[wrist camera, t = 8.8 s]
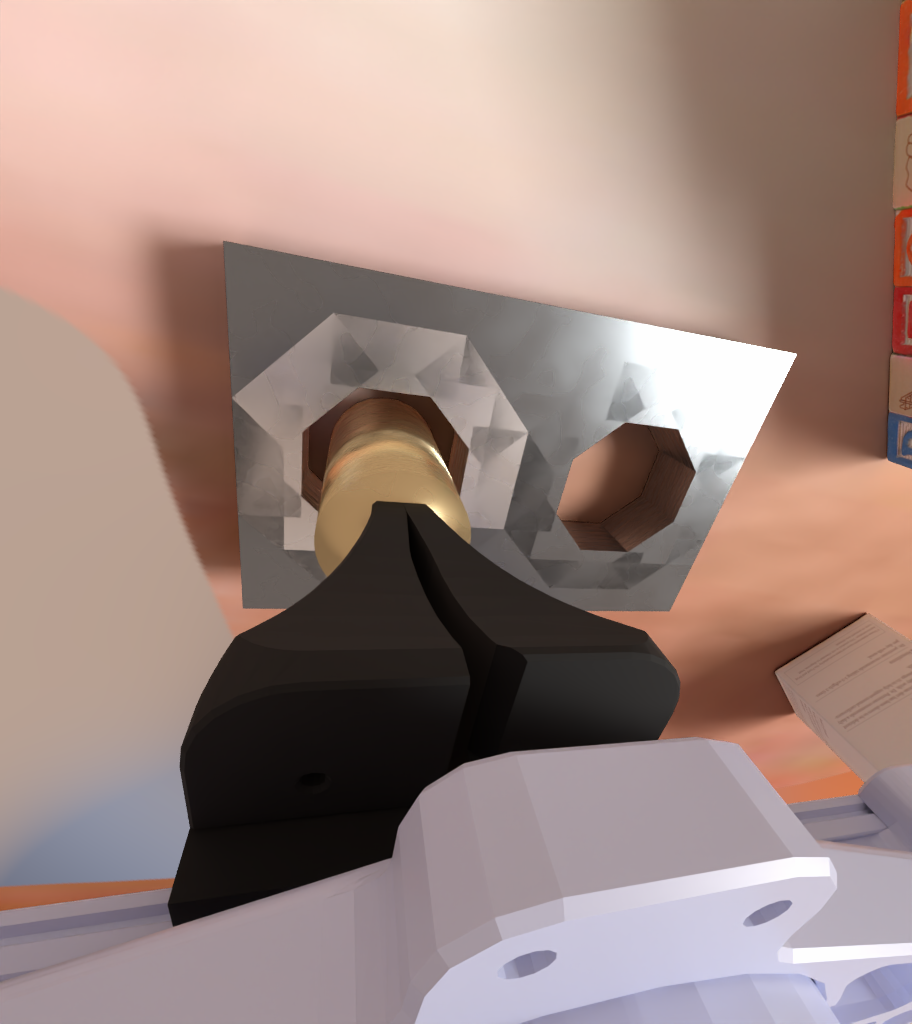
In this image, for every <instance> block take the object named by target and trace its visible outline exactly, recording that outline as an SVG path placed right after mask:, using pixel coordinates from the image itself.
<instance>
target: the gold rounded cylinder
mask: <svg viewBox="0 0 912 1024" xmlns="http://www.w3.org/2000/svg"><path fill="white" fill-rule="evenodd" d="M376 501H388V502H401V503H418V504H426V505H427V506H428V507H430V508H431V509H432V510H433V511H434V512H435V513H436V514H437V515H438V516H439V517H440V518H441V519H442V520H443V521H444V522H445V523H446V524H447V525H448V526H449V527H450V528H452V529H453V530H454V531H455V532H456V533H457V534H458V535H459V536H460V537H461V538H463V539H464V540H465V541H466V542H467V543H468V544H470V541H471V527H470V521H469V518H468V514H467V512H466V510H465V508H464V505H463V503H462V501H461V499H460V496H459V494H458V492H457V490H456V487H455V485H454V483H453V481H452V478H451V476H450V474H449V472H448V469H447V467H446V465H445V463H444V460H443V458H442V456H441V454H440V451H439V449H438V447H437V445H436V442H435V440H434V438H433V436H432V433H431V431H430V429H429V427H428V424H427V423H426V421H425V420H424V418H423V417H422V416H421V415H420V414H419V413H418V412H417V411H416V410H415V409H414V408H412V407H411V406H409V405H407V404H405V403H403V402H401V401H398V400H395V399H390V398H373V399H368V400H364V401H361V402H359V403H357V404H355V405H353V406H352V407H350V408H349V409H348V410H347V411H345V412H344V413H343V414H342V416H341V417H340V418H339V419H338V421H337V422H336V424H335V426H334V429H333V431H332V435H331V440H330V446H329V451H328V457H327V463H326V469H325V475H324V481H323V487H322V493H321V498H320V504H319V510H318V516H317V522H316V528H315V535H314V547H315V553H316V557H317V560H318V563H319V565H320V567H321V569H322V570H323V572H324V573H325V575H326V576H327V577H328V576H329V575H330V574H331V573H332V572H333V571H334V570H335V568H336V567H337V566H338V565H339V564H340V563H341V562H342V561H343V559H344V558H345V557H346V556H347V554H348V553H349V552H350V550H351V549H352V547H353V546H354V544H355V543H356V542H357V540H358V539H359V537H360V535H361V534H362V532H363V530H364V528H365V526H366V524H367V522H368V520H369V518H370V515H371V510H372V504H373V503H375V502H376Z"/></svg>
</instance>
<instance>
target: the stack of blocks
mask: <svg viewBox="0 0 912 1024" xmlns="http://www.w3.org/2000/svg"><path fill="white" fill-rule="evenodd" d="M896 114H897V121H896V130H895V146H894V176H893V208H894V209H895V211H896V212H895V214H896V217H895V223H894V227H895V247H894V279H893V284H894V285H895V290H894V307H893V333H892V347H893V354H892V355H891V358H890V387H889V411H890V412H889V415H888V445H887V446H888V450H887V458H888V460H889V461H891V462H894V463H896V464H899V465H902V466H905V467H908V468H911V469H912V0H903V1H902V4H901V8H900V25H899V51H898V80H897V104H896Z"/></svg>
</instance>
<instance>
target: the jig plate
mask: <svg viewBox="0 0 912 1024" xmlns="http://www.w3.org/2000/svg"><path fill="white" fill-rule="evenodd" d="M223 243H224V262H225V280H226V299H227V318H228V337H229V355H230V374H231V393H232V411H233V430H234V449H235V468H236V486H237V505H238V524H239V543H240V561H241V580H242V599H243V608H261V609H288V608H289V607H291V606H292V605H293V604H295V603H296V602H298V601H299V600H301V599H302V598H303V597H305V596H306V595H307V594H309V593H310V592H311V591H312V590H313V589H315V588H316V587H317V586H318V585H319V584H320V583H321V582H322V581H323V580H324V579H326V578H327V576H326V575H325V573H324V572H323V570H322V569H321V567H320V565H319V563H318V560H317V557H316V553H315V547H314V535H315V528H316V522H317V516H318V510H319V504H320V498H321V493H322V487H323V482H322V481H321V480H320V479H319V478H318V477H317V476H316V475H315V474H314V473H313V472H312V471H311V470H310V469H309V468H308V456H309V426H310V425H312V424H313V423H314V422H315V421H317V420H318V419H319V418H320V417H322V416H323V415H324V414H325V413H327V412H328V411H329V410H331V409H332V408H333V407H334V406H336V405H337V404H338V403H339V402H341V401H342V400H343V399H344V398H346V397H347V396H348V395H349V394H351V393H352V392H353V391H354V390H356V389H357V388H358V387H359V388H366V389H374V390H382V391H389V392H397V393H405V394H412V395H420V396H428V397H431V398H432V399H433V401H434V402H435V404H436V405H437V406H438V408H439V409H440V410H441V412H442V413H443V414H444V416H445V417H446V418H447V420H448V421H449V422H450V424H451V425H452V426H453V428H454V429H455V432H454V438H453V443H452V449H451V455H450V460H449V466H448V472H449V474H450V476H451V478H452V481H453V483H454V485H455V487H456V490H457V492H458V494H459V496H460V499H461V501H462V503H463V505H464V508H465V510H466V512H467V514H468V518H469V521H470V527H471V541H470V545H471V546H472V547H473V548H474V549H476V550H477V551H478V552H480V553H481V554H482V555H483V556H485V557H486V558H487V559H489V560H490V561H491V562H493V563H494V564H496V565H497V566H499V567H500V568H502V569H503V570H505V571H506V572H508V573H510V574H511V575H513V576H514V577H516V578H518V579H519V580H521V581H523V582H524V583H526V584H528V585H530V586H532V587H534V588H536V589H538V590H540V591H542V592H543V593H545V594H547V595H549V596H551V597H554V598H556V599H558V600H560V601H562V602H565V603H567V604H569V605H572V606H574V607H577V608H579V609H582V610H584V611H670V609H671V607H672V605H673V603H674V601H675V599H676V597H677V595H678V593H679V591H680V589H681V587H682V585H683V583H684V581H685V579H686V577H687V575H688V573H689V571H690V569H691V567H692V565H693V563H694V561H695V559H696V557H697V555H698V553H699V551H700V549H701V547H702V545H703V543H704V541H705V538H706V536H707V534H708V532H709V530H710V528H711V526H712V524H713V522H714V520H715V518H716V516H717V514H718V512H719V510H720V508H721V506H722V504H723V502H724V500H725V498H726V496H727V494H728V492H729V490H730V488H731V486H732V484H733V482H734V480H735V478H736V476H737V474H738V472H739V470H740V468H741V466H742V464H743V462H744V460H745V458H746V456H747V454H748V452H749V450H750V448H751V446H752V444H753V442H754V440H755V438H756V435H757V433H758V431H759V429H760V427H761V425H762V423H763V421H764V419H765V417H766V415H767V413H768V411H769V409H770V407H771V405H772V403H773V401H774V399H775V397H776V395H777V393H778V391H779V389H780V387H781V385H782V383H783V381H784V379H785V377H786V375H787V373H788V371H789V369H790V367H791V365H792V363H793V361H794V359H795V357H796V355H797V354H794V353H789V352H784V351H779V350H774V349H769V348H764V347H759V346H753V345H748V344H743V343H738V342H733V341H728V340H723V339H718V338H713V337H708V336H703V335H698V334H693V333H688V332H683V331H677V330H672V329H667V328H662V327H657V326H652V325H647V324H642V323H637V322H632V321H627V320H622V319H617V318H612V317H607V316H601V315H596V314H591V313H586V312H581V311H576V310H571V309H566V308H561V307H556V306H551V305H546V304H541V303H536V302H530V301H525V300H520V299H515V298H510V297H505V296H500V295H495V294H490V293H485V292H480V291H475V290H470V289H465V288H460V287H454V286H449V285H444V284H439V283H434V282H429V281H424V280H419V279H414V278H409V277H404V276H399V275H394V274H389V273H384V272H378V271H373V270H368V269H363V268H358V267H353V266H348V265H343V264H338V263H333V262H328V261H323V260H318V259H313V258H308V257H302V256H297V255H292V254H287V253H282V252H277V251H272V250H267V249H262V248H257V247H252V246H247V245H242V244H237V243H231V242H226V241H223ZM625 422H627V423H635V424H642V425H648V427H649V429H650V431H651V433H652V435H653V438H654V440H655V442H656V444H657V446H658V449H659V452H658V455H657V457H656V460H655V462H654V465H653V467H652V470H651V472H650V475H649V477H648V480H647V483H646V485H645V488H644V490H643V493H642V495H641V496H640V497H639V498H637V499H636V500H634V501H633V502H631V503H630V504H628V505H627V506H625V507H624V508H622V509H621V510H619V511H618V512H616V513H615V514H614V515H612V516H611V517H609V518H608V519H606V520H605V521H603V522H602V523H586V522H570V521H561V520H560V519H559V517H558V516H557V514H556V512H557V509H558V506H559V503H560V499H561V496H562V493H563V490H564V486H565V483H566V480H567V477H568V474H569V470H570V467H571V464H572V461H573V459H574V458H576V457H577V456H579V455H580V454H581V453H583V452H584V451H586V450H587V449H589V448H590V447H591V446H593V445H594V444H596V443H597V442H598V441H600V440H601V439H603V438H604V437H606V436H607V435H608V434H610V433H611V432H613V431H614V430H615V429H617V428H618V427H620V426H621V425H622V424H624V423H625Z"/></svg>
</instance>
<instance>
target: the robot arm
mask: <svg viewBox="0 0 912 1024" xmlns="http://www.w3.org/2000/svg"><path fill="white" fill-rule="evenodd" d="M679 694H680V680H679V677H678V674H677V671H676V669H675V668H674V667H673V666H672V664H671V663H670V662H669V661H668V659H667V658H666V657H665V655H664V654H663V653H662V652H661V650H660V649H659V648H658V647H657V645H656V644H655V643H654V642H653V640H652V639H651V638H650V637H649V635H648V634H647V633H646V632H645V631H643V630H640V629H637V628H633V627H630V626H627V625H624V624H621V623H618V622H615V621H612V620H609V619H606V618H603V617H600V616H597V615H594V614H591V613H589V612H586V611H584V610H582V609H579V608H577V607H574V606H572V605H569V604H567V603H565V602H562V601H560V600H558V599H556V598H554V597H551V596H549V595H547V594H545V593H543V592H542V591H540V590H538V589H536V588H534V587H532V586H530V585H528V584H526V583H524V582H523V581H521V580H519V579H518V578H516V577H514V576H513V575H511V574H510V573H508V572H506V571H505V570H503V569H502V568H500V567H499V566H497V565H496V564H494V563H493V562H491V561H490V560H489V559H487V558H486V557H485V556H483V555H482V554H481V553H480V552H478V551H477V550H476V549H474V548H473V547H472V546H471V545H470V544H468V543H467V542H466V541H465V540H464V539H463V538H461V537H460V536H459V535H458V534H457V533H456V532H455V531H454V530H453V529H452V528H450V527H449V526H448V525H447V524H446V523H445V522H444V521H443V520H442V519H441V518H440V517H439V516H438V515H437V514H436V513H435V512H434V511H433V510H432V509H431V508H430V507H428V506H427V505H426V504H418V503H401V502H388V501H376V502H375V503H373V504H372V510H371V515H370V518H369V520H368V522H367V524H366V526H365V528H364V530H363V532H362V534H361V535H360V537H359V539H358V540H357V542H356V543H355V544H354V546H353V547H352V549H351V550H350V552H349V553H348V554H347V556H346V557H345V558H344V559H343V561H342V562H341V563H340V564H339V565H338V566H337V567H336V568H335V570H334V571H333V572H332V573H331V574H330V575H329V576H328V577H327V578H326V579H324V580H323V581H322V582H321V583H320V584H319V585H318V586H317V587H316V588H315V589H313V590H312V591H311V592H310V593H309V594H307V595H306V596H305V597H303V598H302V599H301V600H299V601H298V602H296V603H295V604H293V605H292V606H291V607H289V608H288V609H286V610H285V611H283V612H281V613H280V614H278V615H276V616H274V617H272V618H271V619H269V620H267V621H265V622H263V623H261V624H259V625H257V626H255V627H253V628H251V629H249V630H248V631H245V632H243V633H241V634H239V635H238V636H236V637H235V638H234V640H233V641H232V643H231V644H230V646H229V647H228V649H227V650H226V652H225V654H224V655H223V657H222V658H221V660H220V661H219V663H218V665H217V667H216V668H215V670H214V672H213V674H212V675H211V677H210V679H209V681H208V683H207V685H206V687H205V689H204V690H203V692H202V694H201V696H200V699H199V701H198V703H197V705H196V708H195V711H194V713H193V717H192V719H191V722H190V724H189V727H188V730H187V733H186V735H185V738H184V741H183V744H182V746H181V755H180V772H181V778H182V783H183V789H184V795H185V801H186V806H187V812H188V819H189V824H190V830H189V834H188V837H187V840H186V843H185V847H184V850H183V853H182V857H181V860H180V864H179V867H178V870H177V874H176V877H175V880H174V884H173V887H172V888H166V889H159V890H152V891H144V892H137V893H130V894H122V895H115V896H107V897H100V898H93V899H85V900H78V901H71V902H63V903H56V904H49V905H41V906H34V907H27V908H19V909H12V910H5V911H0V1024H910V1023H912V764H905V765H896V766H890V767H887V768H884V769H882V770H880V771H878V772H876V773H875V774H874V775H872V776H871V777H870V778H869V779H868V780H867V781H866V782H865V783H864V784H863V785H862V787H861V788H860V789H859V793H858V795H851V796H843V797H835V798H828V799H821V800H813V801H807V802H799V803H792V804H786V803H785V802H784V801H783V799H782V798H781V797H780V796H779V794H778V793H777V792H776V791H775V789H774V788H773V787H772V786H771V784H770V783H769V782H768V781H767V779H766V778H765V777H764V776H763V774H762V773H761V772H760V771H759V769H758V768H757V767H756V766H755V764H754V763H753V762H752V761H751V759H750V758H749V757H748V756H747V754H746V753H745V752H744V751H743V749H742V748H741V747H740V746H739V744H736V743H731V742H726V741H720V740H714V739H707V738H700V737H689V738H676V739H664V740H658V738H659V737H660V735H661V733H662V731H663V730H664V728H665V726H666V724H667V723H668V721H669V719H670V718H671V716H672V714H673V712H674V709H675V707H676V705H677V702H678V699H679Z"/></svg>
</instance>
